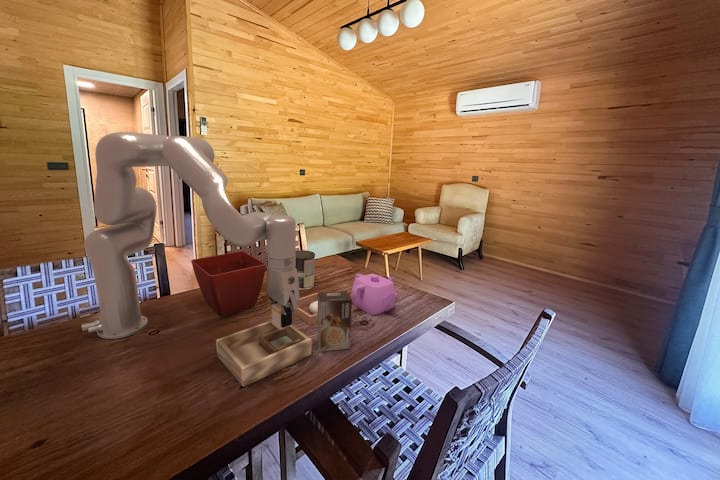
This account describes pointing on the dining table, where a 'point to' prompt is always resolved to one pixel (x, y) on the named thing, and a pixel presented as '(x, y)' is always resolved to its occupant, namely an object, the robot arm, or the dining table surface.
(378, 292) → the teakettle
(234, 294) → the plant pot
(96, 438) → the dining table surface
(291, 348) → the walled box
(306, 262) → the coffee can
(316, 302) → the garlic
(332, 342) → the coffee box
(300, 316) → the garlic dish
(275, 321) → the small white lidded box
